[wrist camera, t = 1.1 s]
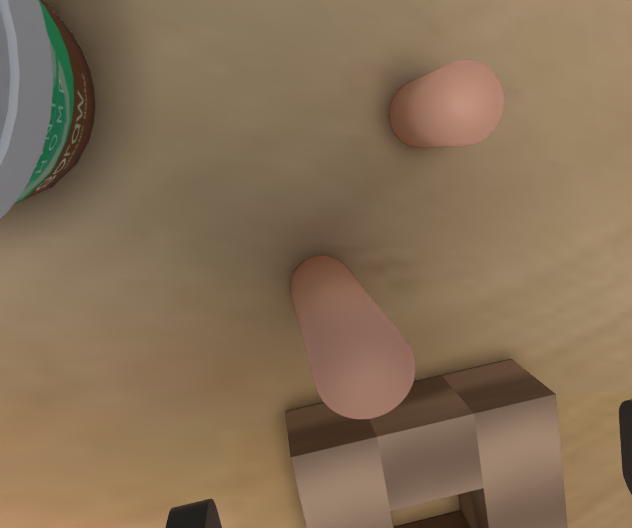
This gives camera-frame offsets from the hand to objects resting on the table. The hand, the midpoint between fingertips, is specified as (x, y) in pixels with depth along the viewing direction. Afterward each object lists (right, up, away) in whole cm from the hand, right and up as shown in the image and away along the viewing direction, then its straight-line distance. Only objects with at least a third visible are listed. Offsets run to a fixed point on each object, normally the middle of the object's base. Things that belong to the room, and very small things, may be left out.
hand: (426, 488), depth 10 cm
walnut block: (+3, -8, +18) cm, 20 cm away
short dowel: (+3, +11, +14) cm, 18 cm away
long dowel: (-2, +3, +15) cm, 15 cm away
